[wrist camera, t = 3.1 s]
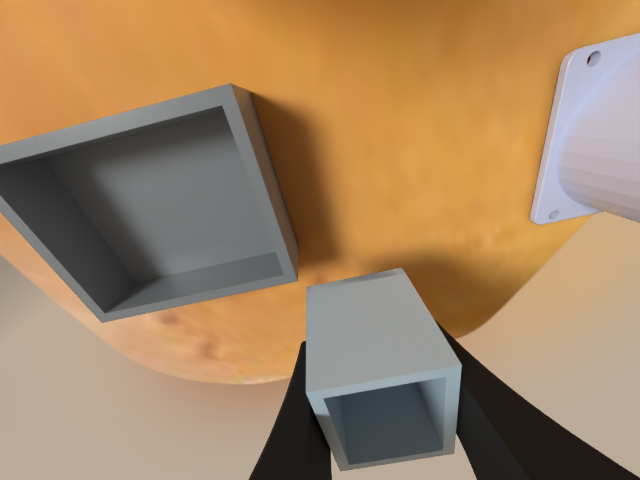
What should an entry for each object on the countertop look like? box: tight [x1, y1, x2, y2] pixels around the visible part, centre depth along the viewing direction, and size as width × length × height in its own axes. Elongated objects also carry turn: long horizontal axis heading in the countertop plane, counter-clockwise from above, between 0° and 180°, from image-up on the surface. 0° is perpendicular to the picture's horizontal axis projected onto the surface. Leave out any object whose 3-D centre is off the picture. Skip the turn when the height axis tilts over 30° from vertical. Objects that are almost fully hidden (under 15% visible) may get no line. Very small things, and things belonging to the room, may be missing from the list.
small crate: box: [306, 267, 462, 471], centre depth 10 cm, size 4×5×4 cm
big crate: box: [0, 83, 299, 323], centre depth 11 cm, size 10×8×3 cm
